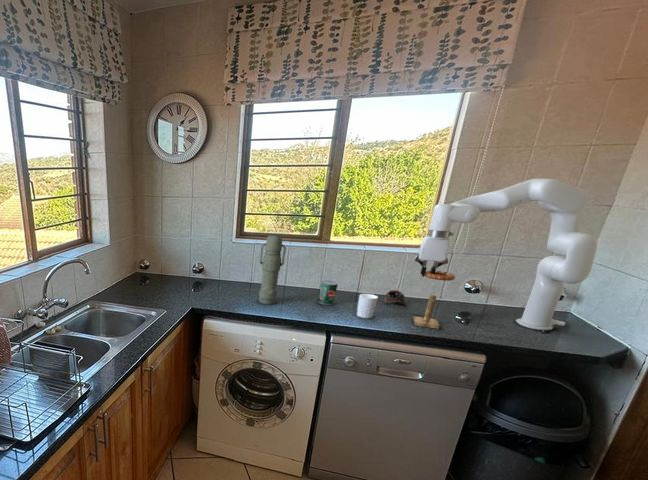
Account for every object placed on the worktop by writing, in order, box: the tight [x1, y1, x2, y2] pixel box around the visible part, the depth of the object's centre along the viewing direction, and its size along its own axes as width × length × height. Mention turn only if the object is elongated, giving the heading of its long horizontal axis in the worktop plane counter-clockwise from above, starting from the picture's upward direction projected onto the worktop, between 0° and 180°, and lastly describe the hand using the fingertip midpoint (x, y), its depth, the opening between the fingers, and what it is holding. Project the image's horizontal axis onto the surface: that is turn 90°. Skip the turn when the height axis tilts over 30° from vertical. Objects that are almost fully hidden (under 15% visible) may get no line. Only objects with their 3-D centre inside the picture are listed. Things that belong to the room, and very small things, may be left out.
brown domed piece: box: [383, 289, 406, 306], centre depth 210 cm, size 12×10×8 cm
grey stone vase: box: [258, 233, 287, 305], centre depth 206 cm, size 9×12×35 cm
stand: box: [412, 294, 440, 330], centre depth 181 cm, size 9×9×14 cm
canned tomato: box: [317, 280, 339, 306], centre depth 210 cm, size 8×8×11 cm
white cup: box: [356, 293, 379, 319], centre depth 191 cm, size 8×8×10 cm
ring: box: [424, 270, 456, 282], centre depth 176 cm, size 11×11×2 cm
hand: (426, 276), depth 178 cm, fingers closed on ring, 2 cm apart
